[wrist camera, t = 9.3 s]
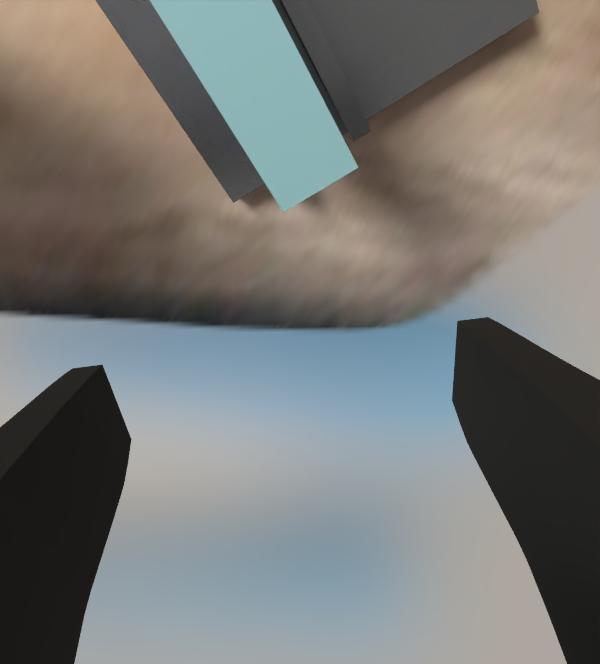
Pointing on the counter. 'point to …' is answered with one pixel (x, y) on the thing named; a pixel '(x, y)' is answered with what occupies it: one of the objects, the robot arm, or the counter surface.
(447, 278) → the counter surface
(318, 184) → the teal slab
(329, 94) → the rack
